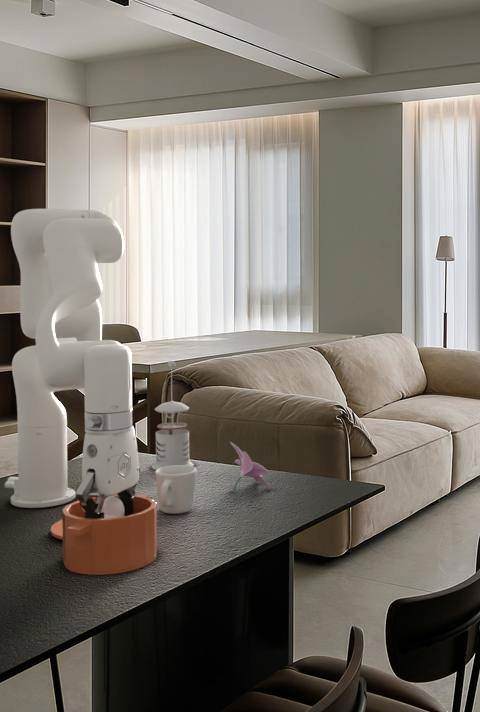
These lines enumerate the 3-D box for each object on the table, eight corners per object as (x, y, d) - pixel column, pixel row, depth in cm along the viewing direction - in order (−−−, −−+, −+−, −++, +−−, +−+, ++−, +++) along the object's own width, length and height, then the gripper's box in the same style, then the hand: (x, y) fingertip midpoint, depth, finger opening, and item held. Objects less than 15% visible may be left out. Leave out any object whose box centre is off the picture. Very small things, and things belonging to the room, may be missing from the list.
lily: (268, 503, 174) (284, 458, 177) (214, 482, 173) (232, 437, 177) (261, 506, 185) (276, 464, 189) (210, 486, 184) (227, 444, 188)
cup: (183, 522, 159) (182, 479, 159) (142, 520, 160) (142, 477, 160) (203, 506, 169) (202, 465, 169) (165, 504, 171) (164, 464, 171)
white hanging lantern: (153, 472, 197) (152, 364, 197) (149, 461, 209) (148, 358, 208) (196, 469, 200) (194, 362, 200) (189, 458, 211) (188, 357, 211)
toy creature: (129, 529, 143) (129, 492, 143) (118, 545, 135) (117, 505, 135) (102, 530, 143) (101, 492, 143) (89, 545, 135) (88, 506, 135)
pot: (33, 575, 132) (32, 520, 132) (107, 535, 151) (106, 487, 151) (114, 585, 127) (114, 528, 127) (180, 543, 146) (180, 494, 146)
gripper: (97, 432, 130) (98, 548, 130) (156, 413, 146) (158, 516, 146) (55, 429, 132) (57, 543, 132) (118, 411, 149) (120, 512, 149)
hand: (110, 528), depth 139 cm, fingers closed on toy creature, 7 cm apart
